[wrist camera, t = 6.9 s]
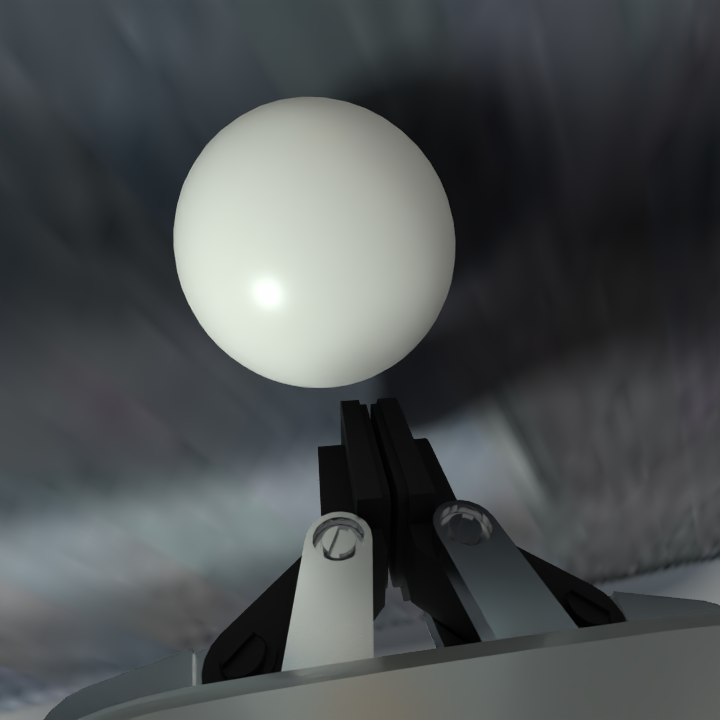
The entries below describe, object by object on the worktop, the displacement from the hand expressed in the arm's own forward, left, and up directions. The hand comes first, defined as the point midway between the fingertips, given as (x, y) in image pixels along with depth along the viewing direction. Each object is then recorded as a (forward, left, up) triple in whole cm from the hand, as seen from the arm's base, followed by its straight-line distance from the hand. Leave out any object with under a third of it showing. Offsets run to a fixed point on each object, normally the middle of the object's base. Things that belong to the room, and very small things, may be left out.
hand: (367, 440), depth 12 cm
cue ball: (+1, -6, +1) cm, 6 cm away
